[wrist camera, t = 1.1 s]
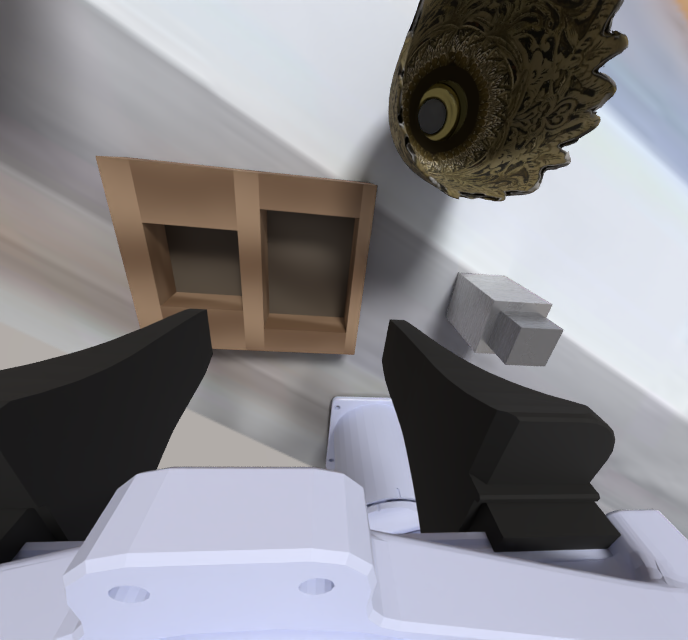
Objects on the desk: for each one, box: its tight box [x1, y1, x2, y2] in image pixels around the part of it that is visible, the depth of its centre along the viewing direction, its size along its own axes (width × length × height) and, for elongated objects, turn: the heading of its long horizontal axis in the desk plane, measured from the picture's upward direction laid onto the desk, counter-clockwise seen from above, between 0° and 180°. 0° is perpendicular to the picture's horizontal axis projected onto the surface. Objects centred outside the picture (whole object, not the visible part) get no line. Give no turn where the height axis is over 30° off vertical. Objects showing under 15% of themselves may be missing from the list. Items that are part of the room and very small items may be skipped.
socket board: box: [96, 156, 377, 355], centre depth 19 cm, size 11×14×2 cm
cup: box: [389, 0, 628, 201], centre depth 13 cm, size 8×7×8 cm
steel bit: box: [446, 272, 563, 366], centre depth 19 cm, size 4×4×7 cm
